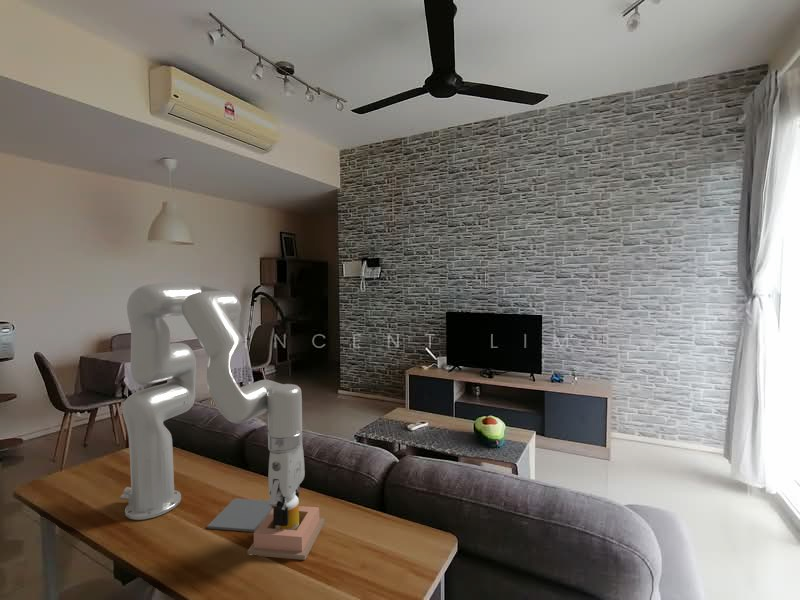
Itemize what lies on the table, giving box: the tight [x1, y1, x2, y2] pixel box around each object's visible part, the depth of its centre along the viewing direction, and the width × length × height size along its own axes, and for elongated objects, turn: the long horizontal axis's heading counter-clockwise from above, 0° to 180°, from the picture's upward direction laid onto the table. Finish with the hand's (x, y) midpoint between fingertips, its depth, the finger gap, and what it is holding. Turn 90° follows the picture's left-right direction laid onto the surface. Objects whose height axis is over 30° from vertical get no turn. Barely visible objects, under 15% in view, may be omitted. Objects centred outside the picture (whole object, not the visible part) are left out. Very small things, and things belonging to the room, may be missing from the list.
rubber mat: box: [206, 498, 272, 533], centre depth 99 cm, size 12×12×1 cm
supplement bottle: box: [275, 491, 300, 530], centre depth 90 cm, size 5×5×10 cm
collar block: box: [247, 505, 326, 561], centre depth 90 cm, size 13×13×4 cm
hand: (286, 515), depth 90 cm, fingers closed on supplement bottle, 5 cm apart
